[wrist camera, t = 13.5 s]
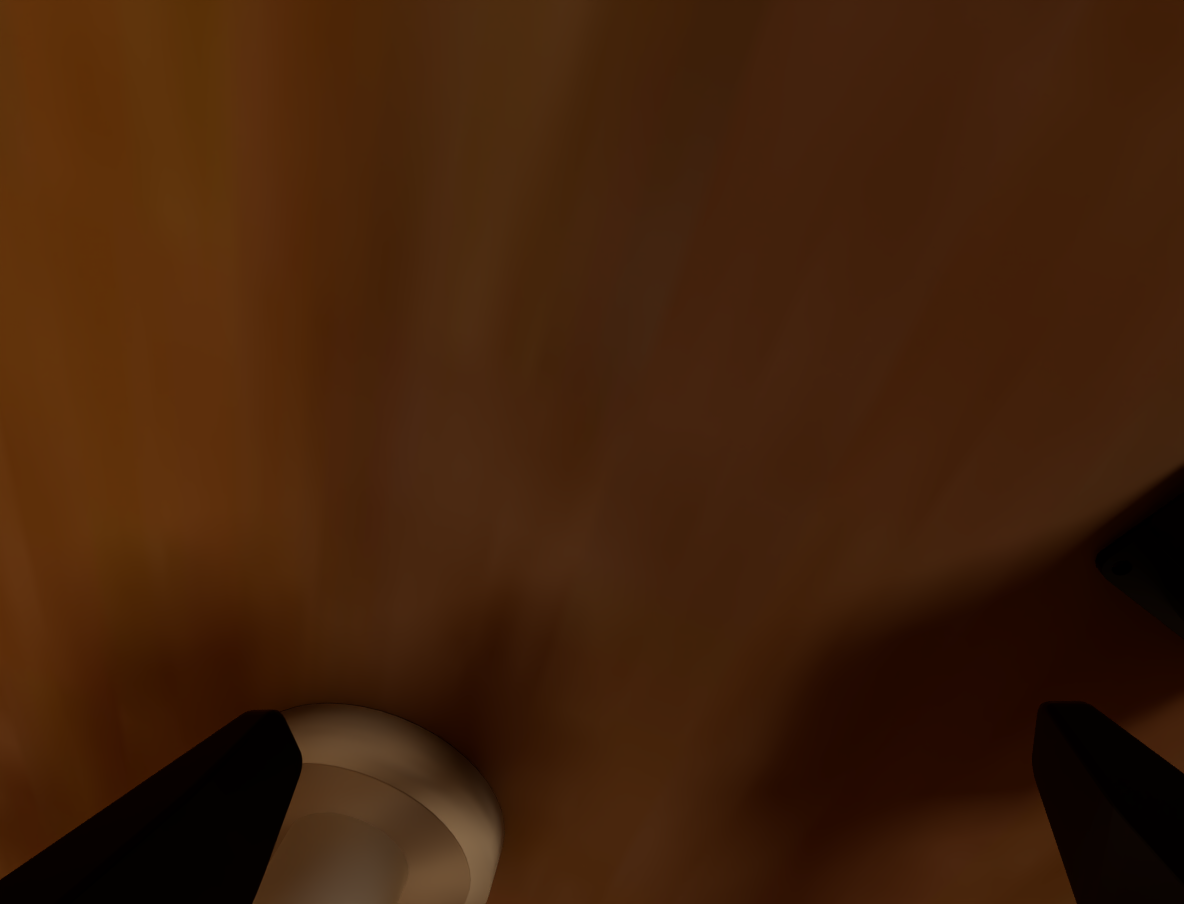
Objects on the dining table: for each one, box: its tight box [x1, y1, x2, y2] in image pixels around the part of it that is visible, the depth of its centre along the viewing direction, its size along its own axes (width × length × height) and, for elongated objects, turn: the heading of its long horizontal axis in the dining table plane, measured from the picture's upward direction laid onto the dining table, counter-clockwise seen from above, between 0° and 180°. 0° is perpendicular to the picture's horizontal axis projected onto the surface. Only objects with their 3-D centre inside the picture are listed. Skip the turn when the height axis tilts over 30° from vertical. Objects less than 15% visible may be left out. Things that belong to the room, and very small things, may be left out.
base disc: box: [268, 703, 505, 904], centre depth 30 cm, size 12×12×2 cm
